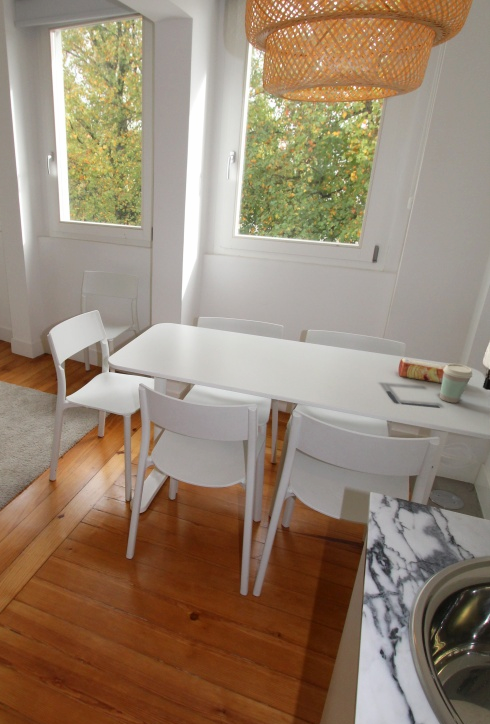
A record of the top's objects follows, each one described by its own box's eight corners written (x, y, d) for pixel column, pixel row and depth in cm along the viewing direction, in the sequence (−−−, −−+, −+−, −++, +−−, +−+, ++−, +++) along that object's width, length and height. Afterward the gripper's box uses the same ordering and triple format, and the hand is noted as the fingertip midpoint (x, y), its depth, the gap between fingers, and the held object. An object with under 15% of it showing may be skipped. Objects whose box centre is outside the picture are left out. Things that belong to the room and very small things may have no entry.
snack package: (458, 381, 179) (463, 365, 176) (460, 389, 173) (466, 372, 170) (396, 371, 186) (401, 355, 183) (397, 377, 181) (402, 361, 178)
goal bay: (439, 407, 158) (439, 407, 157) (394, 404, 160) (394, 403, 160) (421, 388, 173) (422, 387, 173) (381, 385, 175) (381, 384, 175)
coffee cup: (463, 397, 165) (473, 366, 160) (463, 407, 159) (474, 375, 154) (435, 391, 169) (445, 360, 164) (434, 400, 163) (444, 369, 158)
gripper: (530, 346, 146) (512, 399, 153) (505, 332, 160) (489, 381, 167) (504, 344, 148) (487, 397, 155) (481, 330, 161) (467, 379, 168)
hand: (488, 388), depth 161 cm, fingers closed
